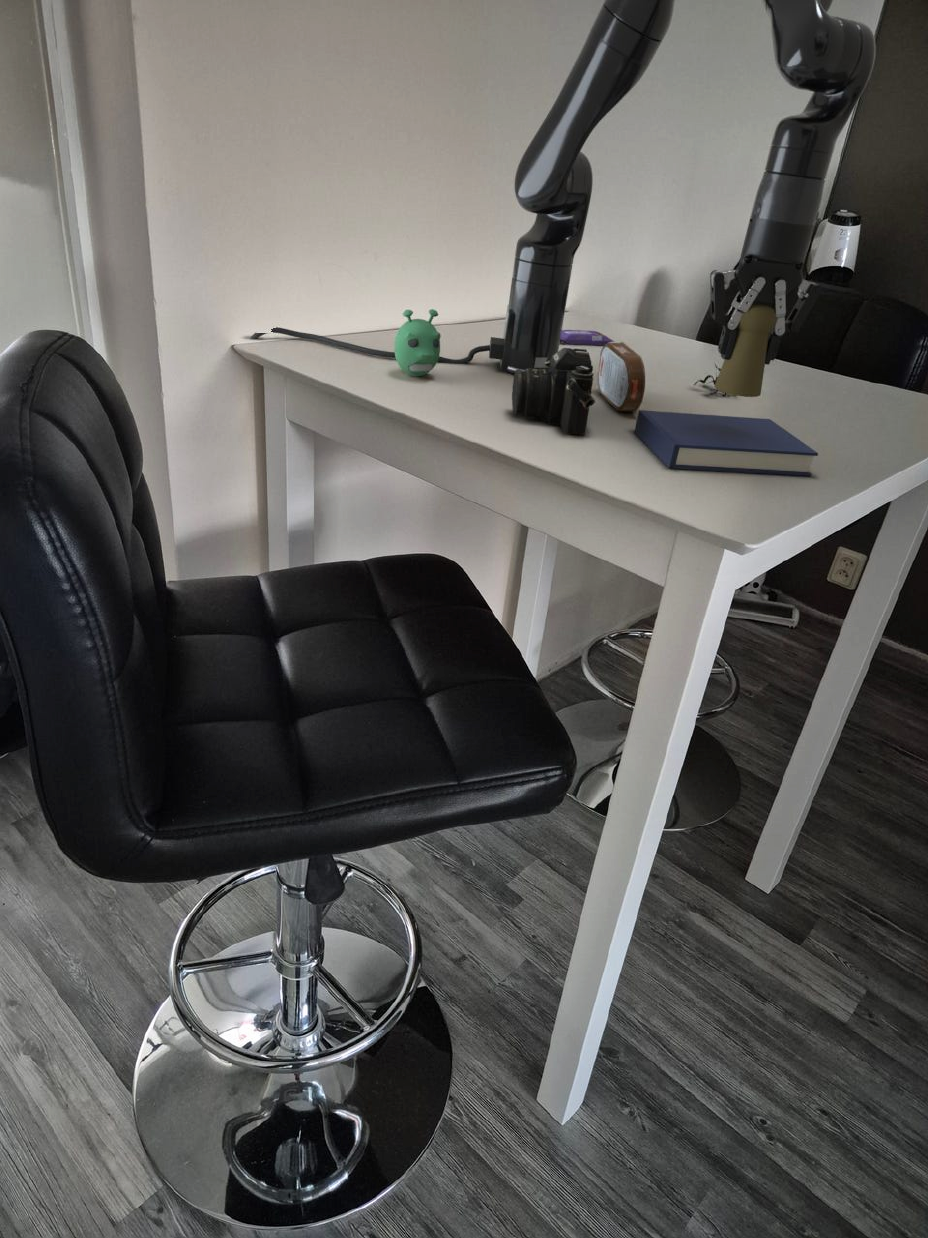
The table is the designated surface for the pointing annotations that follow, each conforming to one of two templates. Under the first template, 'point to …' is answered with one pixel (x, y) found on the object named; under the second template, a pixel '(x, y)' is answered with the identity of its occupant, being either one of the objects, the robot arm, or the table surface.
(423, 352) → the alien toy
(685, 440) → the book
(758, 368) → the cork
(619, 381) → the tin
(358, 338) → the table surface
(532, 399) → the film camera
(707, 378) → the creature
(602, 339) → the snack package
